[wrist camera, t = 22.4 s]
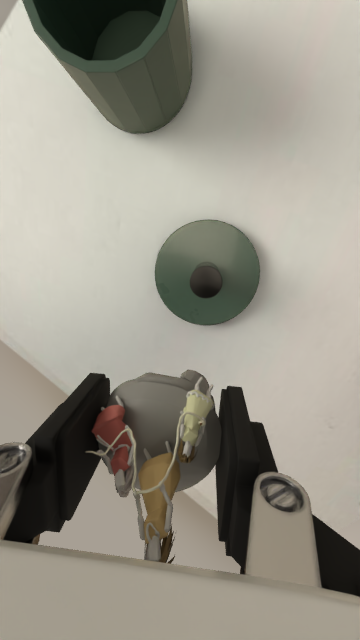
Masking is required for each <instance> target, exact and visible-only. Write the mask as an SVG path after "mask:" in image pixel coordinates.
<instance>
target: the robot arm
mask: <svg viewBox="0 0 360 640" xmlns="http://www.w3.org/2000/svg"><path fill="white" fill-rule="evenodd" d="M109 397H110V380H109V378H106V376H105V374H97V373H90V374H89V375H88V376H87V377H86V378H85V379H84V381H83V382H82V383H81V384H80V385H79V386H78V387H77V388H76V389H75V391H74V392H73V393H72V394H71V395H70V396H69V397H68V398H67V400H66V401H65V402H64V403H62V404H61V405H59V406H58V408H57V409H56V410H55V411H54V412H53V413H52V414H51V415H50V417H49V418H48V419H47V420H46V421H45V422H44V423H43V424H42V425H41V426H40V427H39V428H38V430H37V431H36V432H35V433H34V434H33V435H32V436H31V437H30V438H29V439H28V441H27V442H26V443H25V444H24V443H19V442H13V443H6V444H3V445H0V640H360V550H359V549H358V548H356V547H355V546H354V545H352V544H351V543H350V542H348V541H347V540H346V539H344V538H343V537H342V536H340V535H339V534H338V533H337V532H335V531H334V530H333V529H331V528H330V527H329V526H327V525H326V524H325V523H323V522H322V521H321V520H319V519H318V518H317V517H315V516H314V515H313V514H312V511H311V503H310V499H309V496H308V494H307V492H306V491H305V489H304V488H303V487H302V486H301V485H300V484H299V483H298V482H297V481H296V480H294V479H292V478H291V477H289V476H287V475H284V474H282V473H278V470H277V467H276V464H275V461H274V458H273V455H272V451H271V448H270V445H269V442H268V439H267V436H266V432H265V429H264V426H263V424H262V423H258V422H250V419H249V415H248V411H247V407H246V403H245V399H244V395H243V391H242V388H241V387H233V386H227V389H222V391H221V400H220V409H219V421H220V425H221V431H222V433H221V443H220V453H219V458H218V460H217V462H216V488H217V511H218V534H219V541H224V542H225V547H226V555H227V556H232V557H233V558H234V559H235V561H236V562H237V563H238V564H239V565H240V566H241V570H240V574H235V573H229V572H222V571H215V570H209V569H202V568H195V567H188V566H182V565H175V564H169V563H162V562H155V561H148V560H141V559H134V558H126V557H120V556H112V555H106V554H99V553H92V552H85V551H78V550H70V549H64V548H57V547H50V546H43V545H38V542H39V537H40V534H41V533H43V532H44V531H52V532H60V530H61V528H62V526H63V524H64V522H65V520H67V521H69V520H71V518H72V516H73V514H74V512H75V510H76V508H77V506H78V504H79V502H80V500H81V498H82V496H83V494H84V492H85V490H86V488H87V486H88V484H89V481H90V479H91V478H92V476H93V474H94V471H95V469H96V467H97V465H98V463H99V461H100V459H101V456H99V455H96V454H94V453H85V451H94V452H96V453H97V451H98V450H99V445H98V441H97V440H96V439H97V438H96V437H95V434H94V433H92V429H93V427H94V424H95V422H96V419H97V417H98V415H99V414H100V413H101V412H102V410H101V407H104V408H106V406H107V403H108V400H109Z"/></svg>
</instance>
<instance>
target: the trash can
mask: <svg viewBox="0 0 360 640" xmlns="http://www.w3.org/2000/svg"><path fill="white" fill-rule="evenodd" d="M22 1H23V4H24V6H25V9H26V11H27V14H28V16H29V19H30V21H31V24H32V26H33V29H34V31H35V32H36V34H37V35H38V37H39V38H40V39H41V40H42V41H43V43H44V44H45V45H46V46H47V48H48V49H49V50H50V51H51V53H52V54H53V55H54V56H55V57H56V59H57V60H58V61H59V62H60V64H61V65H62V66H63V67H64V68H65V70H66V71H67V72H68V73H69V75H70V76H71V77H72V78H73V79H74V81H75V82H76V83H77V84H78V86H79V87H80V88H81V89H82V91H83V92H84V93H85V94H86V95H87V97H88V98H89V99H90V100H91V102H92V103H93V104H94V105H95V106H96V108H97V109H98V110H99V111H100V112H101V113H102V115H103V116H104V117H105V118H106V119H107V120H108V121H109V122H110V123H112V124H113V125H114V126H116V127H118V128H119V129H121V130H124V131H127V132H131V133H148V132H152V131H155V130H157V129H159V128H161V127H163V126H165V125H166V124H167V123H169V122H170V121H171V120H172V119H173V118H174V117H175V116H176V114H177V113H178V112H179V110H180V109H181V107H182V106H183V104H184V102H185V100H186V97H187V94H188V91H189V88H190V83H191V75H192V52H191V40H190V28H189V17H188V5H187V0H22Z"/></svg>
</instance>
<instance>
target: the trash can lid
mask: <svg viewBox="0 0 360 640" xmlns="http://www.w3.org/2000/svg"><path fill="white" fill-rule="evenodd" d="M259 277H260V267H259V260H258V256H257V254H256V251H255V249H254V247H253V245H252V243H251V242H250V241H249V239H248V238H247V237H246V236H245V235H244V234H243V233H242V232H241V231H240V230H238V229H237V228H235V227H234V226H232V225H230V224H227V223H225V222H221V221H217V220H200V221H195V222H192V223H189V224H187V225H184V226H182V227H181V228H179V229H178V230H176V231H175V232H174V233H173V234H172V235H171V236H170V237H169V238H168V239H167V240H166V241H165V243H164V244H163V246H162V248H161V250H160V252H159V254H158V257H157V261H156V265H155V281H156V286H157V289H158V292H159V295H160V297H161V299H162V300H163V302H164V304H165V305H166V306H167V307H168V308H169V309H170V310H171V311H172V312H173V313H174V314H175V315H177V316H178V317H180V318H181V319H183V320H185V321H188V322H190V323H194V324H199V325H214V324H219V323H223V322H225V321H228V320H230V319H232V318H234V317H235V316H237V315H238V314H240V313H241V312H242V311H243V310H244V309H245V308H246V307H247V306H248V304H249V303H250V302H251V300H252V298H253V297H254V295H255V292H256V290H257V287H258V283H259Z"/></svg>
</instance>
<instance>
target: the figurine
mask: <svg viewBox="0 0 360 640" xmlns="http://www.w3.org/2000/svg"><path fill="white" fill-rule="evenodd" d="M212 388H213V385H211V386H210V387H209V384H208V382H207V380H206V378H205V377H204V376H203V375H201V374H200V373H198V372H196V371H193V370H187V371H185V372H184V373H182V375H181V377H180V378H177V377H171V376H166V375H160V374H155V373H145V374H143V375H142V376H140V377H138V378H136V379H133V380H129V381H126V382H124V383H122V384H121V385H119V386H118V387H117V388H116V389H115V390H114V391H113V392H112V393H111V395H110V397H109V400H108V403H107V406H106V408H104V407H101V410H102V412H101V413H100V414H99V415H98V417H97V419H96V422H95V424H94V427H93V429H92V433H94V434H95V437H96V438H97V439H96V440H97V441H98V445H99V450H98V451H97V453H96V452H94V451H85V453H94V454H96V455H99V456H101V458H102V460H103V461H104V463H105V465H106V466H107V467H108V470H109V473H110V474H114V476H115V486H116V490H117V493H119V495H120V497H127V495H128V493H129V491H130V490H131V489H132V490H133V492H134V493H133V495H134V497H135V499H136V504H137V509H138V514H139V516H138V525H139V532H140V538H141V539H142V540H145V545H146V544H147V548H146V550H145V553H146V554H145V557H144V558H145V559H144V560H148V561H155V562H162V563H166V562H167V559H168V557H169V554H170V551H171V547H172V545H173V544H172V543H173V542H172V536H173V533H172V526H171V518H172V510H173V504H172V502H171V500H172V498H173V495H174V493H175V492H177V491H181V490H184V489H187V488H189V487H191V486H193V485H195V484H197V483H198V482H200V481H201V480H202V479H203V478H205V477H206V476H207V475H208V474H209V473H210V472H211V470H212V469H213V468H214V466H215V464H216V462H217V460H218V458H219V453H220V443H221V433H222V431H221V425H220V421H219V418H218V416H217V414H216V412H215V404H214V399H213V396H212V395H211V393H210V392H211V390H212ZM134 487H135V488H137V489H140V490H141V491H136V490H135V488H134ZM139 494H142V496H143V499H144V503H145V507H146V510H147V514H148V516H147V518H146V520H145V522H144V519H143V516H142V509H141V503H140V495H139ZM170 526H171V529H170ZM169 531H170V533H169V535H168V532H169ZM167 536H168V537H167ZM161 539H163V542H162V546H161ZM173 541H174V540H173ZM171 542H172V543H171ZM174 557H175V556H174ZM174 557H173V558H172V559H171V560H170V561H169V562H168V563H169V564H171V562H172V561H173V559H174Z"/></svg>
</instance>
